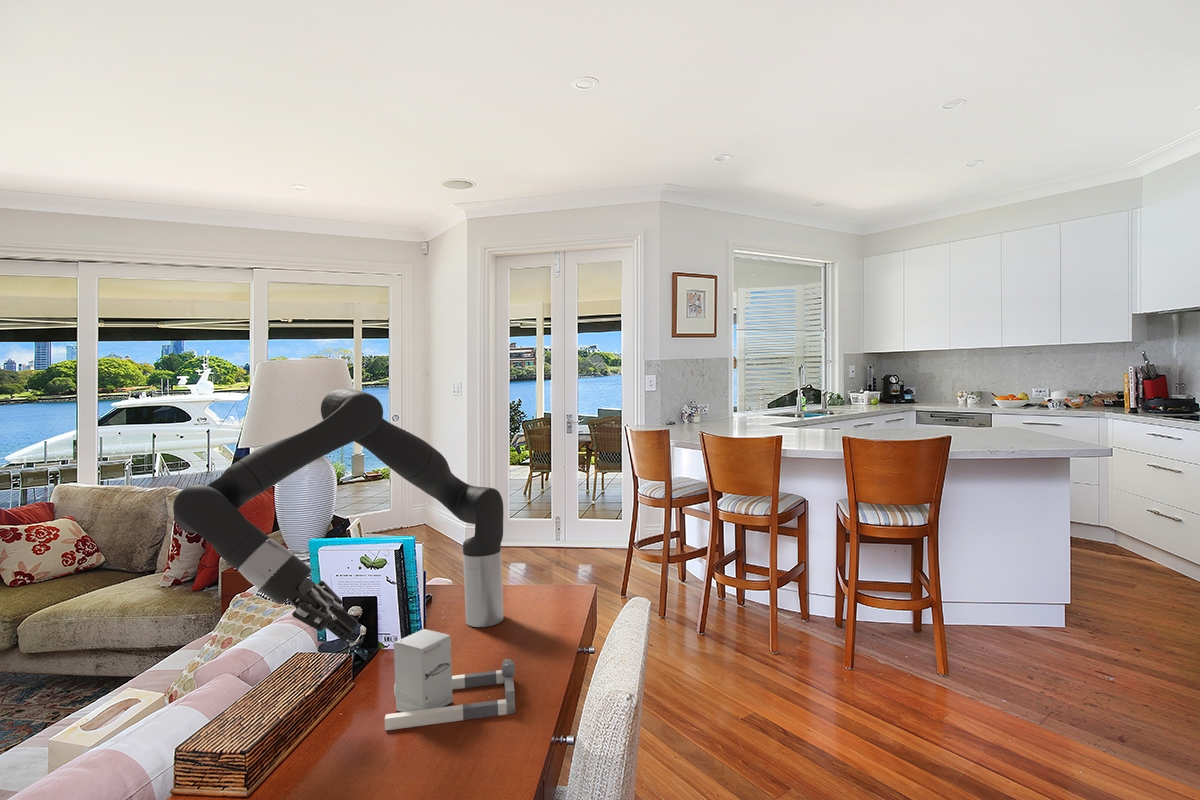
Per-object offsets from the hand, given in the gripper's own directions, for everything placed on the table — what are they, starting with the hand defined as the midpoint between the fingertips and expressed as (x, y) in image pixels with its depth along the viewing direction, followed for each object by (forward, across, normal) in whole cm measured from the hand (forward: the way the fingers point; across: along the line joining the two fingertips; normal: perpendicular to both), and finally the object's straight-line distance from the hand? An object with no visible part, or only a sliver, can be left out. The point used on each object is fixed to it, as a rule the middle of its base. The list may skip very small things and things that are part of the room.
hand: (351, 631), depth 112 cm
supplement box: (+19, 0, +2) cm, 19 cm away
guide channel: (+23, 0, -1) cm, 23 cm away
